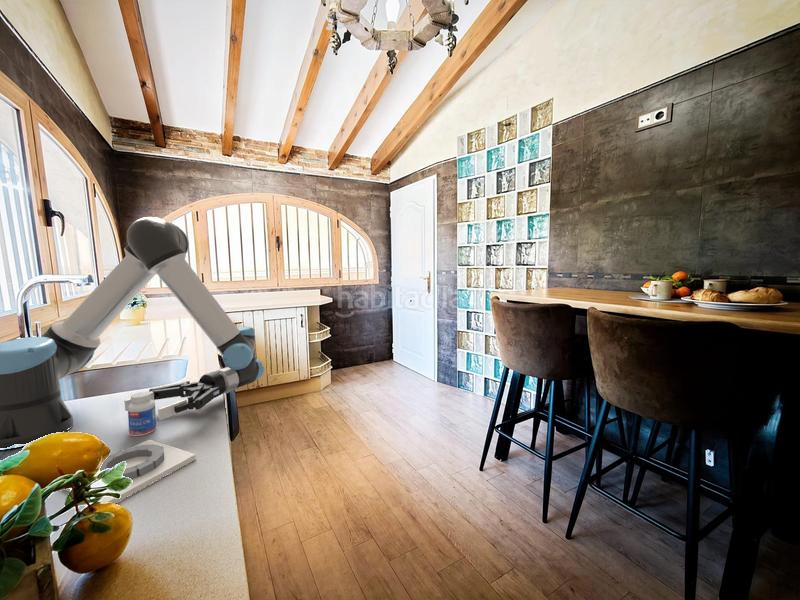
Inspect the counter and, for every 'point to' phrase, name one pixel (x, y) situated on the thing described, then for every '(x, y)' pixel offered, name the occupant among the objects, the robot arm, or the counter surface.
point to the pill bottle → (141, 414)
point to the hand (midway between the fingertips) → (141, 410)
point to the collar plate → (156, 474)
